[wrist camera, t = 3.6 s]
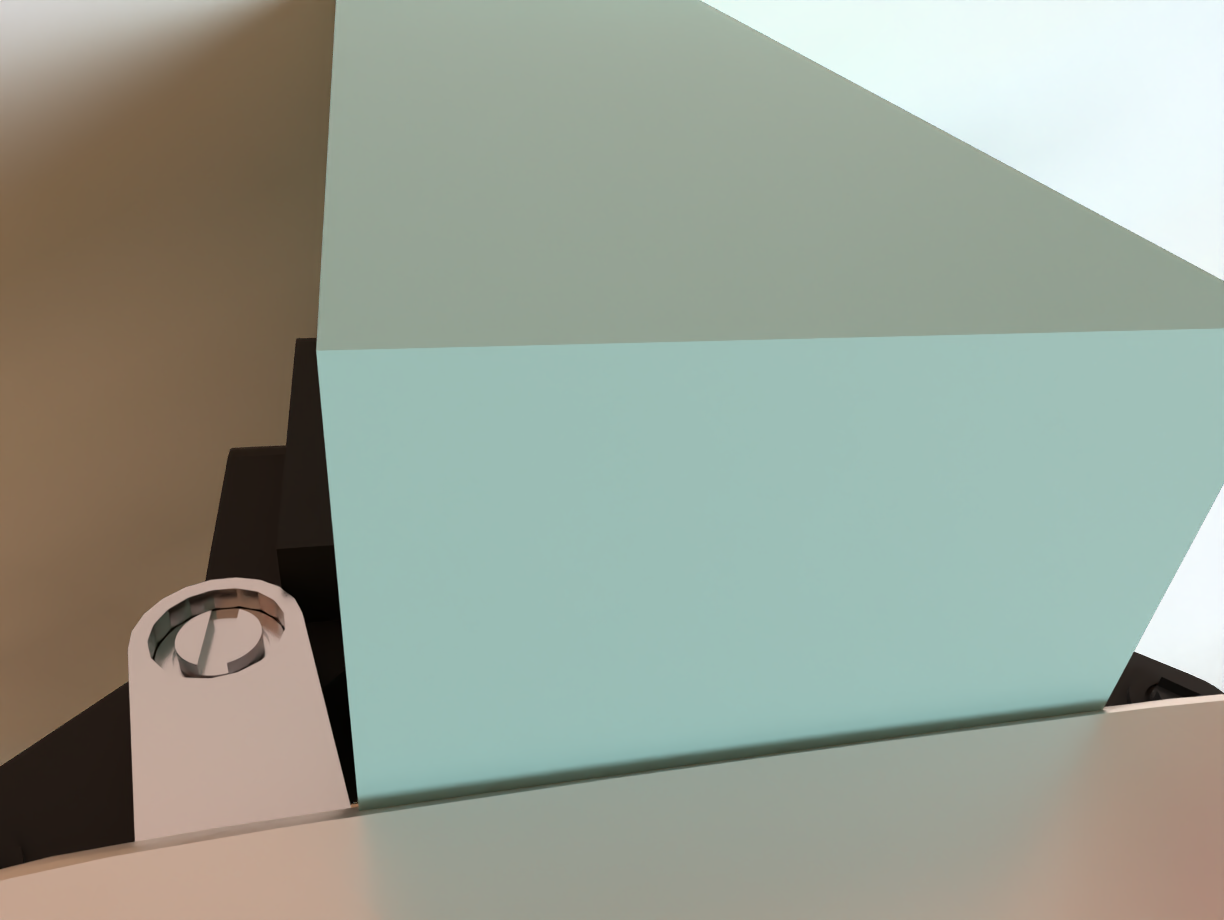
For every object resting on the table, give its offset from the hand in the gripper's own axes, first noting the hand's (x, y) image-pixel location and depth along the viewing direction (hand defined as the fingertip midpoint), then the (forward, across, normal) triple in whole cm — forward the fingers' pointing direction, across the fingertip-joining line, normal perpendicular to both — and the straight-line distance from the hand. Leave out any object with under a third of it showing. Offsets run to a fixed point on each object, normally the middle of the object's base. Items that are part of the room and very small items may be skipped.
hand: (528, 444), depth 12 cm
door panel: (+2, 0, 0) cm, 2 cm away
